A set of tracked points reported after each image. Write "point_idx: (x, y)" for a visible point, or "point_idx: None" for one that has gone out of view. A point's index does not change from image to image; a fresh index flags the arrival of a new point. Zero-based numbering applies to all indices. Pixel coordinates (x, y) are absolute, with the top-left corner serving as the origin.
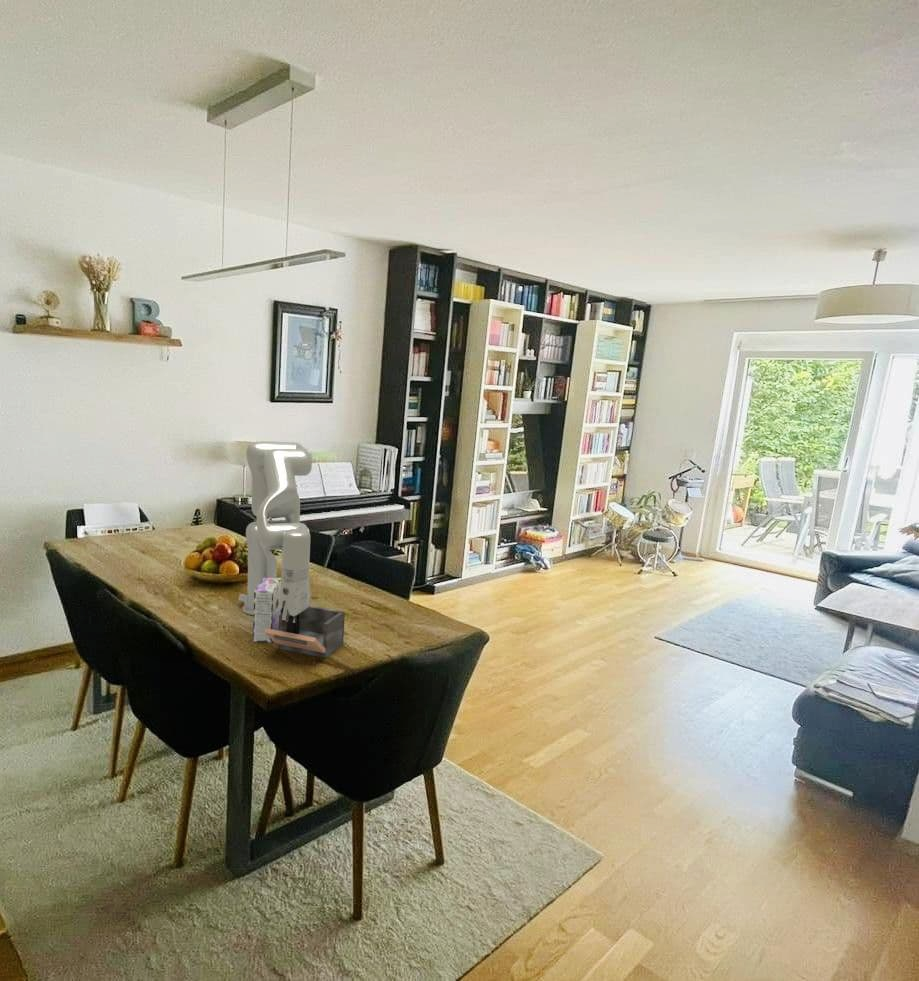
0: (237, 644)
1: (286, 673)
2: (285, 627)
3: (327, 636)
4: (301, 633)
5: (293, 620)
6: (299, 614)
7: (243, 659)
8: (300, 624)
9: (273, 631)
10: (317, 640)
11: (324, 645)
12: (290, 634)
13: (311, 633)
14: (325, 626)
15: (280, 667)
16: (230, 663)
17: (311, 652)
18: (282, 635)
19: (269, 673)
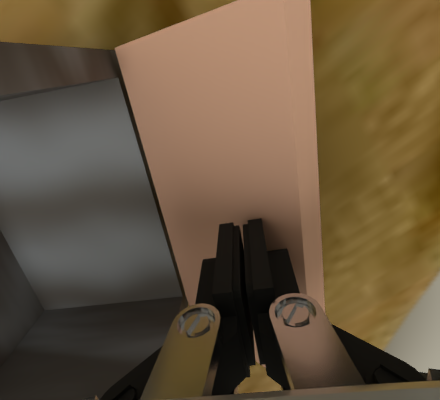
0: (248, 387)
1: (379, 109)
2: (139, 345)
3: (58, 46)
4: (63, 281)
5: (328, 333)
6: (204, 370)
7: (336, 318)
8: (25, 325)
9: None
10: (237, 1)
11: (104, 67)
12: (309, 247)
13: (27, 249)
14: (10, 72)
15: (334, 172)
16: (384, 330)
17: None
18: (322, 285)
19: (409, 173)
